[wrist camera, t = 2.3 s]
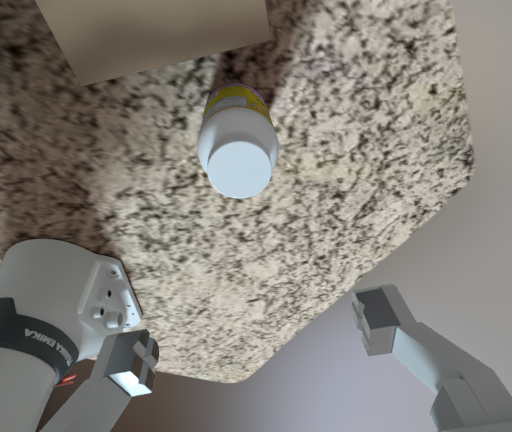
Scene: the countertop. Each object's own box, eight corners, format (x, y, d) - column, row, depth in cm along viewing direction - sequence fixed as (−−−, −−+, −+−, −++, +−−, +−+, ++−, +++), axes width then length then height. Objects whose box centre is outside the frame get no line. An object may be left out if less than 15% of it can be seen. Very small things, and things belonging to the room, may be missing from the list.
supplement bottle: (270, 138, 33) (289, 202, 23) (213, 149, 33) (207, 217, 23) (262, 75, 29) (280, 118, 19) (197, 87, 29) (180, 137, 19)
